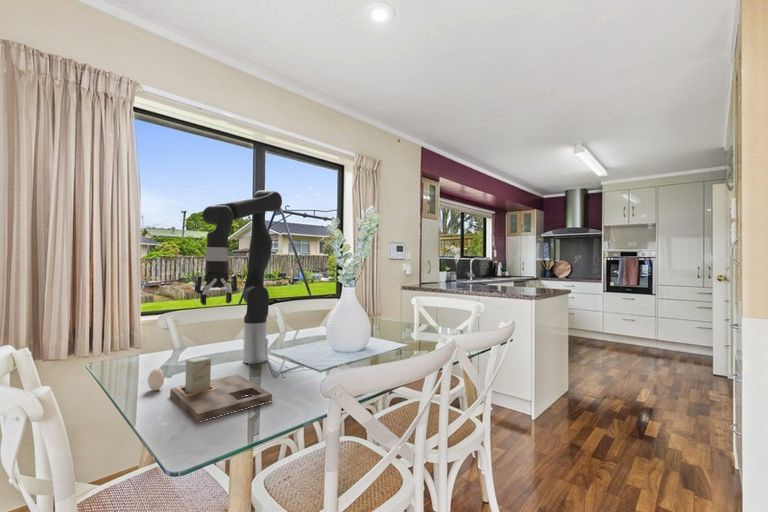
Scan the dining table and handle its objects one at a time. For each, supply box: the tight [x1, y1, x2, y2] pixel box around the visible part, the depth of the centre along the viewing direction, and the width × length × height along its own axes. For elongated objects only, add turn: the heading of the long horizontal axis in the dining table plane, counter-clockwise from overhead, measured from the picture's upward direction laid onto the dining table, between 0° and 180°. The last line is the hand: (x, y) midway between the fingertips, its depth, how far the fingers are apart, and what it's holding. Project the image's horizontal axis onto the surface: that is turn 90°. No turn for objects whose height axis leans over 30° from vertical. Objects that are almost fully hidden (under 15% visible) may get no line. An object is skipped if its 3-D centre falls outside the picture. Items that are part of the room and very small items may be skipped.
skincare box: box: [185, 356, 212, 395], centre depth 119 cm, size 6×4×12 cm
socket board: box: [169, 373, 273, 423], centre depth 118 cm, size 22×26×3 cm
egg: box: [147, 367, 165, 391], centre depth 124 cm, size 5×5×7 cm
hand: (216, 304), depth 135 cm, fingers open, 8 cm apart
